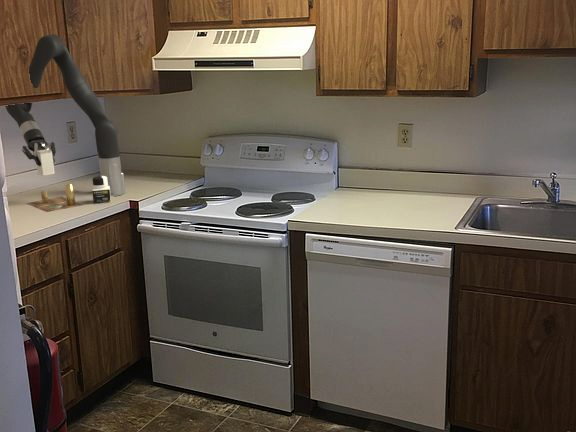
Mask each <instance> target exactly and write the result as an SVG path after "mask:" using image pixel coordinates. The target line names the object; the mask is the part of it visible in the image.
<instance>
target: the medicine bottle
mask: <svg viewBox="0 0 576 432" xmlns="http://www.w3.org/2000/svg"><path fill="white" fill-rule="evenodd" d="M91 181H92V190H91V193H92V200H93V202H92V203H93V205H95V204H108V203H112V196H111V195H110V186H108V181H107V177H106V176H101V175H97V176H93V178H92V180H91Z"/></svg>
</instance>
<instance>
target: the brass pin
mask: <svg viewBox="0 0 576 432" xmlns="http://www.w3.org/2000/svg"><path fill="white" fill-rule="evenodd" d="M64 187H65V188H64V189H65V195H66V197H65V198H67V205H68V206H74V205H76V204H75V202H76V199H75V198H76V197H75V189H74V183H72V182H71V183H69V182H68V183H65V184H64Z"/></svg>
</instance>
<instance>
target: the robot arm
mask: <svg viewBox="0 0 576 432" xmlns="http://www.w3.org/2000/svg"><path fill="white" fill-rule="evenodd" d="M69 51H70V50H68V47H67V46H66V44H65V42H64V40H63V39H62V38H61V37H60V36H59V35H57V34H51V33H50V34H47V35H43V36H42V37H40V38H38V40H37V43H36V46H35V49H34V53H33V56H32V58H31V61H30V64H29V66H28V68H29V74H30V80H31V83H32V84H33V87H34V88H38V89H39V86H40V84H41V82H42V79H43V76H44V71H45V69H46V67H47V66H48V64H49V63H50V61H52V60H53V61H54V62H55V64H56V65H57V67H58V68H59V70H60V72H61V76H62V80H63V82H64V86H65V88H66V90H67V92H68V93H69V96H71V98H72V99H73V101H74V102H75V104H77V106H78V107H79V108H80V109H81V110H82V111H83V112H84V113H85V114H86V116H87V117H88V119H90V122H91V123H92V125H93V127H94V129H95V130H94V136H95V137H94V138H95V144H96V150H97V156H98V162H99V163H98V165H99V171H100V172H99V173H100V176H106V177H107V181H108V186H110V195H111V197H117V196H122V195H124V194H126V184H125V175H124V172H122V164H121V157H120V156H121V155H120V149H119V148H120V147H119V142H118V131H119V130H118V127H117V125H116V124H115V123H114V121H113V120H112V119H111V118H110V117H109V115H108V114H107V112H106V111H105V110H104V108H103V107H102V105H101V103H100V101H99V99H98V97H97V96H96V95H97V94H96V93H95V92H94V90H93V89H92V87H91V85H90V83H89V81H88V80H87V79H86V78H85V76H84V74H83V73H82V72H81V70H80V68H79V67H78V65H77V64H76V62H75V61H74V59H73V57H72V55H71V54H70V52H69ZM32 106H33V102H32V103H24V104H15V105H8V106H4V107H5V109H6V112H7V113H8V114H9V116H10V117H11V118H12V119H13V120H14V122H16V124H17V125H18V127H19V130H20V133H21V135H22V138H23V139H24V141H25V143H26V145H22V149H21V151H22V153H23V154H24V155H25V156H26V157H27V159H28V160H33V161H34V162H35V165H36V164H37V165H38V166H41V162H40V160H39V158H38V157H37V153H36V151H39V150H52V156H53V163H54V164H55V162H56V159H55V155H56V152H57V150H56V147H55V144H56V143H55V142H54V141H51V142H47V141H46V139H45V137H44V135H43V133H42V131H41V129H40V127H39V125H38V123H36V121H35V119H34V116H33V115H32V114H31V113H30V112H31V110H32ZM37 165H36V166H37Z"/></svg>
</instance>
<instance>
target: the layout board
mask: <svg viewBox="0 0 576 432" xmlns="http://www.w3.org/2000/svg"><path fill="white" fill-rule="evenodd" d="M40 194H41V195H40V196H41V200H36V201H30V202H26V203H25V204H27V205H29V206H31V207H34V208H36V209H38V210H41V211H44V212H45V213H50V212H55V211H59V210H64V209H69V208H75V207H80V206H85V204H83V203H80V202H78V201H75V204H76V205H74V206H68V205H67V197H65V196H64V197H63V196H57V197H52V198H49V196H48V191H47V190H43V191H41V192H40Z"/></svg>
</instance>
